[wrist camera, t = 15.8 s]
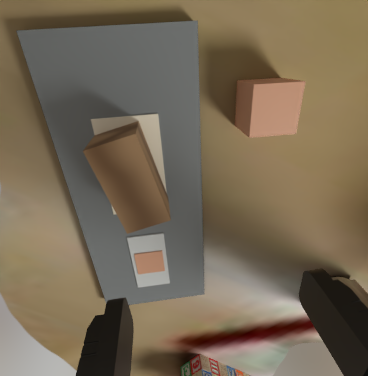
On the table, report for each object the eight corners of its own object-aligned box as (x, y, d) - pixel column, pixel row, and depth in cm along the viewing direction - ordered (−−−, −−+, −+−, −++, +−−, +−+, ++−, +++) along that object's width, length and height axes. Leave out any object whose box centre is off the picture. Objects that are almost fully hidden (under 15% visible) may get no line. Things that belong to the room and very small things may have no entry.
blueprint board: (194, 22, 23) (198, 20, 22) (202, 286, 42) (204, 296, 40) (24, 32, 22) (14, 30, 21) (109, 299, 40) (107, 309, 39)
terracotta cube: (280, 77, 27) (305, 81, 23) (274, 122, 29) (296, 133, 25) (237, 80, 26) (253, 84, 22) (234, 125, 29) (249, 137, 25)
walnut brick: (138, 120, 26) (135, 133, 21) (168, 197, 30) (170, 220, 26) (94, 135, 26) (82, 151, 21) (130, 208, 31) (127, 233, 26)
